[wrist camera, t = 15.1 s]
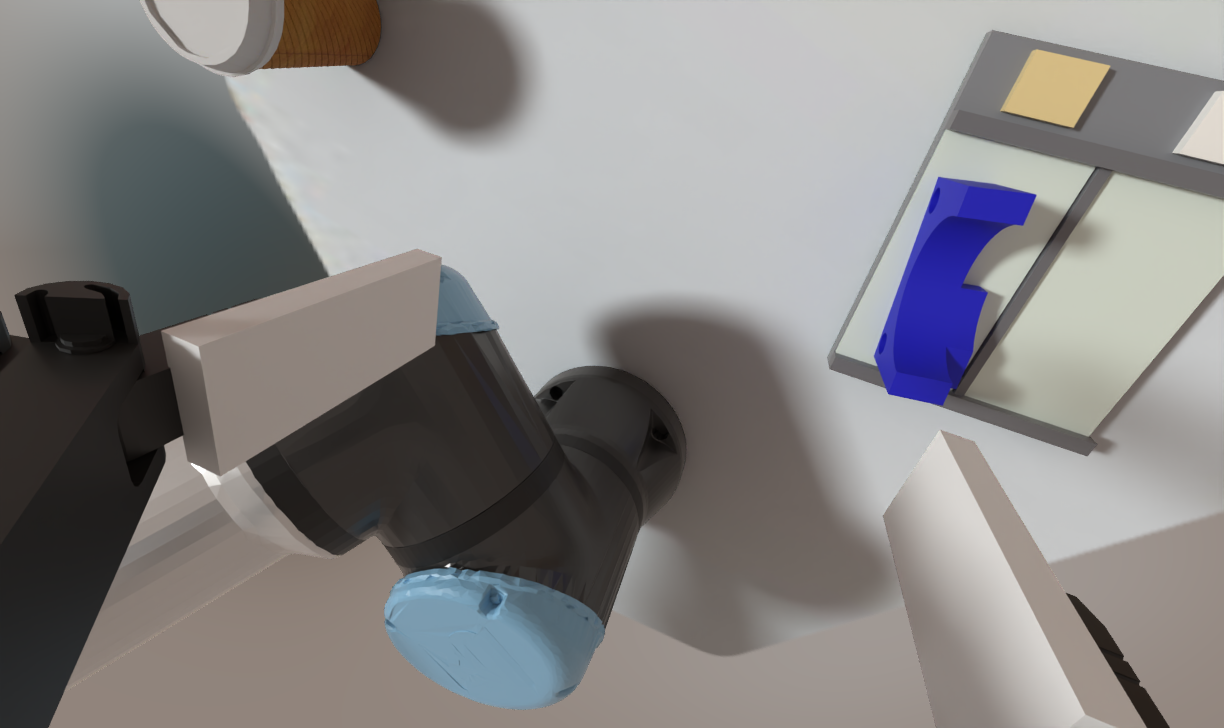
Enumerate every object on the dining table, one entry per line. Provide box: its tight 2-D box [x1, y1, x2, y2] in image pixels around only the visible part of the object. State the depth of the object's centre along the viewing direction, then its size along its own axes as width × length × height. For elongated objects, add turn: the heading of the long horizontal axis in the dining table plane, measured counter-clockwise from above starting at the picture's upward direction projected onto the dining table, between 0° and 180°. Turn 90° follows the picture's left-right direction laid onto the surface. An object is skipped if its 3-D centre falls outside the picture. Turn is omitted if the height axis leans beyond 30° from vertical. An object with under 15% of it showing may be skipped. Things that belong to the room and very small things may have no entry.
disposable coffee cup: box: [140, 0, 381, 77], centre depth 34 cm, size 10×10×12 cm
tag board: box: [827, 30, 1224, 456], centre depth 31 cm, size 17×21×2 cm
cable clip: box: [874, 177, 1037, 406], centre depth 30 cm, size 12×4×6 cm, turn 174°
